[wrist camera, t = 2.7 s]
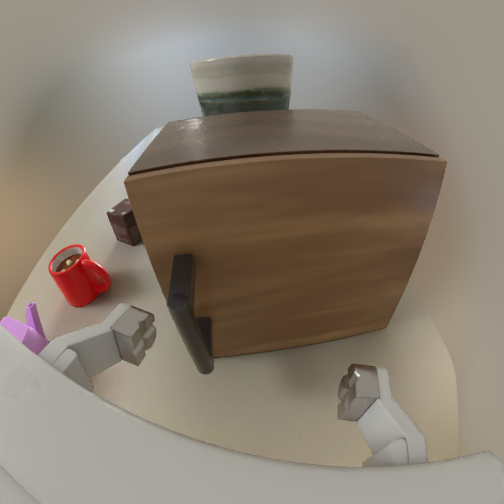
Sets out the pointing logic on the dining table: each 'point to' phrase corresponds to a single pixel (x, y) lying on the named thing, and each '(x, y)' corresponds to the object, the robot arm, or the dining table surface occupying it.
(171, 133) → the cupboard
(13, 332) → the teapot
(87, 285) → the mug
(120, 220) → the box
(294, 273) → the cupboard door
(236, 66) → the planter
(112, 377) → the dining table surface
